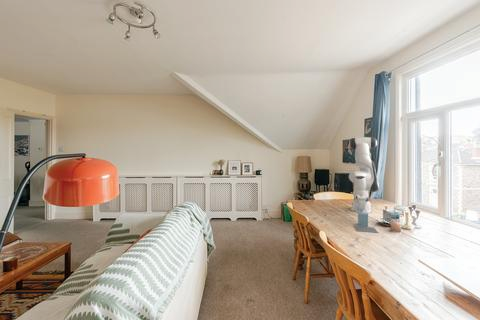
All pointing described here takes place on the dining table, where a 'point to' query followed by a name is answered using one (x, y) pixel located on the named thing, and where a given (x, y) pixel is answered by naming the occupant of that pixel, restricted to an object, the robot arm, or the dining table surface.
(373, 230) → the mat
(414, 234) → the dining table surface
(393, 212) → the light bulb box
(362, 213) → the block
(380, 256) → the dining table surface
